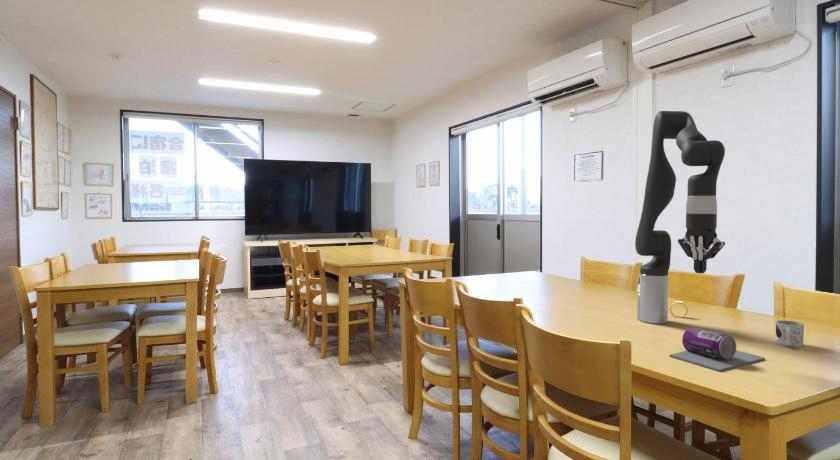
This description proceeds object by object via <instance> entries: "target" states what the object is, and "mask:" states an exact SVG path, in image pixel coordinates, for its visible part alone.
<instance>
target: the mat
mask: <svg viewBox="0 0 840 460" xmlns="http://www.w3.org/2000/svg"><path fill="white" fill-rule="evenodd" d="M669 357H670V358H673V359H675V360H680V361H683V362H685V363H688V364H693V365H696V366H699V367H702V368H705V367H706V368H705V369H709V370H713V371H716V372H719V373H720V372H723V371H724V372H725V371H727V370H732V369H735V368H738V367H743V366H746V365H749V364H753V363H758V362H761V361H765V360H766V359H765V357H764V356H760V355H757V354H754V353H753V354H752V353H748V352H745V351H740V350H737V349H736V352H735V354H734V356H733V357H732V358H730V359H717V358H713V357H709V356H705V355H701V354H698V353H694V352H690V351H687V350H684V351H680V352H676V353H670V354H669Z"/></svg>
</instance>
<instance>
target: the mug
mask: <svg viewBox="0 0 840 460" xmlns="http://www.w3.org/2000/svg"><path fill="white" fill-rule="evenodd" d="M804 325H805V324H804V323H802V322H799V321H794V320H784V319H781V320H780V319H778V320H776V321H775V344H776V345H778V346H780V347H781V346H782V347H785V348H794V349H795V348H796V349H801V348H804V333H805V331H804V330H805V329H804V327H805V326H804Z"/></svg>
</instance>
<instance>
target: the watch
mask: <svg viewBox="0 0 840 460" xmlns="http://www.w3.org/2000/svg"><path fill="white" fill-rule="evenodd" d="M675 304H676V305H683V307H685V311H686V312H685V313H684V315H675V314H674V313H673V310H672V306H674V305H675ZM688 308H689V307H688V306H687V305H686V304H685V303H684V302H683V301H681V300H675V301H674V302H673V303H671V304H670V306H669V313H670V314H671V316H672V317H674V318H675V317H676V318H684V317H686V316H687V315H688V312H689V309H688Z"/></svg>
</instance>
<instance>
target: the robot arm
mask: <svg viewBox="0 0 840 460" xmlns="http://www.w3.org/2000/svg"><path fill="white" fill-rule="evenodd" d="M653 121H654V122H653V126H652V137H651V138H652V139H651V149H650V150H651V151H650V152H651V153H650V159H649V165H648V170H647V176H646V181H645V182H646V183H645V189H644V196H643V197H644V198H643V203H642V211H641V215H640V219H639V224H638V228H637V231H636V235H635V243H634V247H635V251H636V253H637V254H638V255H639V256H644V257H652V259H651V260H650V261H649V262H647V263H644V264H642V265H641V266H640V267H639V293H637V302H636V303H637V307H636V309H637V315H636V316H637V317H636V319H637V320H639V321H641V322H644V323H647V324H658V325H659V324H660V325H661V324H667V323H668V320H669V316H668V313H669V271H670V267H671V254H672V238H671V236H670V234H669V232H668V231H666V230H663V229H662V230H661V229H659V230H655V225H656V222H657V220H658V218H659V217H660V215H661V214H662V213H663V211H664V210H665V209H666V208H667V206H668V205H669V204H670V202H671V201H672V200H673V198H674V195H675V189H676V182H677V176H676V173H675V171H674V169H673V167H672V164H670V163H671V162H670V161H669V159H668V157H667V155H666V152H665V151H666V150H665V146H664V143H665V140H675V142H676V143H675V144H676V146H677V147H678V149H679V150H680V151H681V153H680V156H681V157H680V159H681V162H682V164H684V165H685V166H688V167H707V168H706V169H705V171H704V172H702V173H699V174H698V173H697V174H694V175H691V176H689V177H688V179H687V197H686V203H685V207H686V209H685V210H686V211H685V228H686V232H685V234H684V236H683V238H678V240H677V243H678V245H679V246H680V247H681V249H682V250H683V252H684V253H685V255H686V256H687V257H688V258H691V259H692V260H693V271H694V272H695V274H700V275H701V274H705V272H706V271H707V265H708V264H707V261H708V260H709V259H715V257H716V256H717V254H718V253H720V251H721V250H723V248H724V246H726V242H725V241H721V239H720V238H718V234H717V232H716V230H717V224H718V223H717V221H718V219H717V217H718V202H717V181H718V177H719V173H720V169H721V166H722V164H723V162H724V158H725V156H726V155H725V154H726V148H725V145H724V144H723V143H722V142H721V140H716V139H714V140H708V139H707V138H706V136H705V135H704V134H703V133H702V132H700V131H699V130H698V128H697V126H696V122H695V121H694V118H693V116H692V114H690V112H687V111H683V110H660V111H658V112H656V115H655V116H654V119H653Z"/></svg>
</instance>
